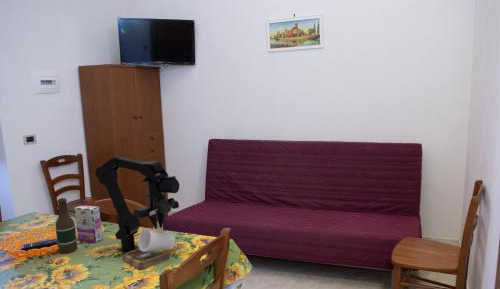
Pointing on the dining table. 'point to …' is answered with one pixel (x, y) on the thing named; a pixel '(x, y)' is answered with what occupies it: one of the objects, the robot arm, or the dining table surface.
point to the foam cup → (155, 240)
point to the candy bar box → (88, 223)
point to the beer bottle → (65, 229)
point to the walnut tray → (142, 265)
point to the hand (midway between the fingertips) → (158, 228)
